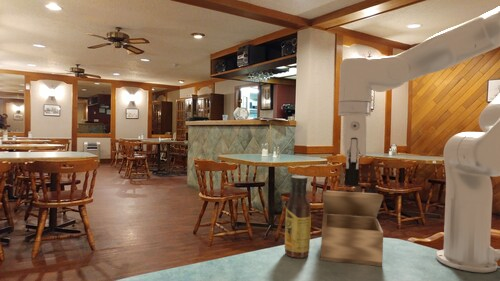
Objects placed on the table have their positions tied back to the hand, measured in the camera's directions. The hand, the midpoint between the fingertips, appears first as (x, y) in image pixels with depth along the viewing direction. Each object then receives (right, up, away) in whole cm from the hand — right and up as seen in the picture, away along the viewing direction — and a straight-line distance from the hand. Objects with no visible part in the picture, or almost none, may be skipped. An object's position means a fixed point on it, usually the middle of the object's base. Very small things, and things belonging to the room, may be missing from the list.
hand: (351, 185), depth 86 cm
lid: (+1, -6, +5) cm, 8 cm away
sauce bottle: (-13, -18, +3) cm, 22 cm away
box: (+1, -18, +5) cm, 19 cm away
